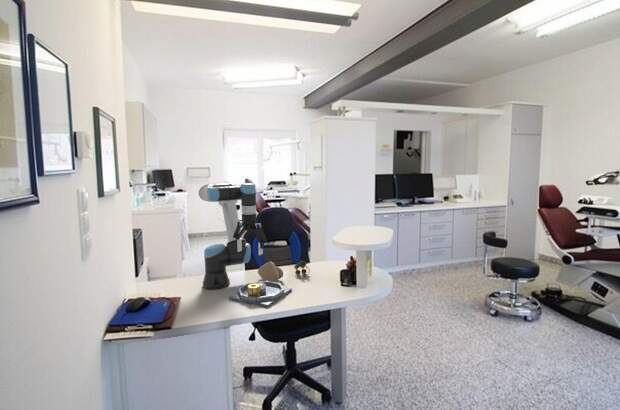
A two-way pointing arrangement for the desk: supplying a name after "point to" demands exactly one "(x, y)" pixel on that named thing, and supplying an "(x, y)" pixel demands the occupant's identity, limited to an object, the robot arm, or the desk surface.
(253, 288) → the planet gear
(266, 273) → the brown rounded piece
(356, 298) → the desk surface
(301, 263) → the binoculars
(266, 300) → the tray
